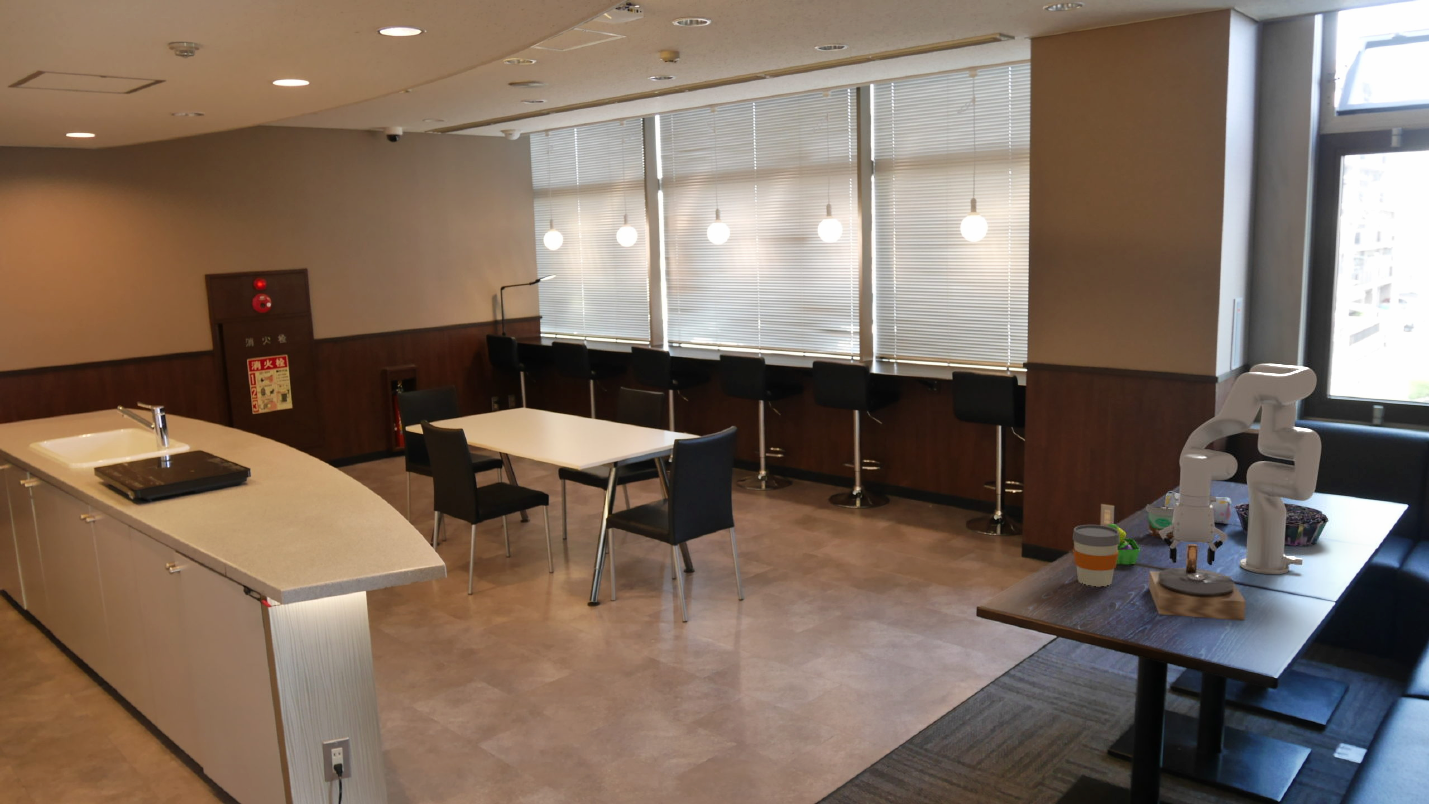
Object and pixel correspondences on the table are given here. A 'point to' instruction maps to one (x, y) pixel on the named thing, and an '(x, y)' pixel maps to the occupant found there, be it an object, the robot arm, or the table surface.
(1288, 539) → the decorative bowl
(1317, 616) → the table surface
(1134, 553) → the fruit basket
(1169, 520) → the food container
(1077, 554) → the reusable coffee cup
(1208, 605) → the block
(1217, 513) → the pencil case
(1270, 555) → the robot arm
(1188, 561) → the handwheel
